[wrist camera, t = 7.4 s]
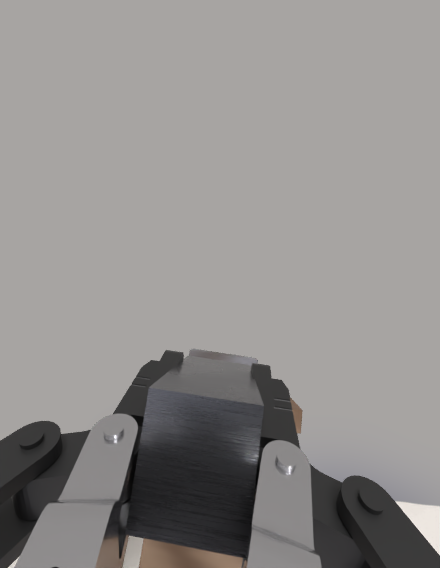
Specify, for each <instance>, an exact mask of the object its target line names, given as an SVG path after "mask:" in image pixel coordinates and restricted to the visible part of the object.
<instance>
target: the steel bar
mask: <svg viewBox="0 0 440 568" xmlns="http://www.w3.org/2000/svg"><path fill="white" fill-rule="evenodd" d="M263 410H264V404H263V401H262V399H261V396H260V393H259V390H258V387H257V384H256V381H255V379H253V377H252V374H251V367H250V365H247V364H240V363H234V362H227V361H220V360H214V359H207V358H200V357H194V356H187V357H186V358H185V359H183V362H181V363H180V364H179V365H178V366H177V367H173V368H172V369H171V370H170V371H169V372H167V373H166V374H165V375H164V376H162V377H161V378H160V379H159V380H157V381H156V382H155V383H154V384H153V385H151V386H150V387H149V390H148V396H147V402H146V408H145V415H144V421H143V427H142V433H141V439H140V445H139V451H138V458H137V464H136V470H135V476H134V482H133V488H132V494H131V501H130V507H129V513H128V519H127V525H126V531H125V535H130V536H135V537H140V538H145V539H150V540H155V541H160V542H165V543H170V544H175V545H180V546H185V547H190V548H195V549H200V550H205V551H210V552H215V553H220V554H225V555H230V556H235V557H240V558H245V557H246V551H247V546H248V540H249V533H250V527H251V518H252V509H253V500H254V491H255V482H256V473H257V464H258V455H259V446H260V437H261V428H262V419H263Z"/></svg>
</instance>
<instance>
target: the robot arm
mask: <svg viewBox="0 0 440 568" xmlns="http://www.w3.org/2000/svg"><path fill="white" fill-rule="evenodd" d="M183 357H184V355H183V352H175V351H169V350H166V351H165V352H164V354H163V356H162V358H161V360H160V361H153V360H151V361H150V362H148V363H147V364H145V365H144V366H143V367H142V368H141V369H140V371H139V373H138V374H137V376H136V378H135V379H134V381H133V382H132V385H131V386H130V387H129V389H128V390H127V392H126V394H125V395H124V397H123V399H122V400H121V402H120V403H119V405H118V407H117V408H116V410H115V411H114V413H113V414H112V415H109V416H106V417H104V418H103V419H101V420H99V421H98V422H97V423H96V424H95V425H94V426H93V427H92V429H91V430H88V431H84V432H76V433H68V434H61V432H60V428H59V426H58V425H57V424H55V423H53V422H50V421H39V422H34V423H31V424H29V425H26V426H24V427H22V428H20V429H19V430H17V431H15V432H14V433H12V434H11V435H9V436H7V437H6V438H4V439H2V440H1V441H0V568H8V567H9V566H10V565H11V564H12V563H13V562H14V561H15V560H16V559H17V558H18V557H19V556H20V557H19V559H18V561H17V563H16V565H15V567H14V568H122V566H123V561H124V556H125V551H126V547H127V542H128V537H129V535H125V531H126V525H127V519H128V513H129V507H130V501H131V494H132V488H133V482H134V476H135V470H136V464H137V458H138V451H139V445H140V439H141V433H142V427H143V421H144V415H145V408H146V402H147V396H148V390H149V387H150V386H151V385H153V384H154V383H155V382H156V381H157V380H159V379H160V378H161V377H162V376H164V375H165V374H166V373H167V372H169V371H170V370H171V369H172V368H173V367H177V366H178V365H179V364H180V363H181V362H183ZM251 374H252V377H253V379H255V381H256V384H257V387H258V390H259V393H260V396H261V399H262V401H263V404H264V410H263V419H262V428H261V437H260V446H259V455H258V464H257V473H256V482H255V491H254V500H253V509H252V518H251V527H250V533H249V540H248V546H247V551H246V557H245V558H243V559H242V565H241V568H440V555H439V554H438V553H437V552H436V551H435V549H434V548H433V547H432V546H431V545H430V543H429V542H428V541H427V540H426V539H425V537H424V536H423V535H422V534H421V533H420V531H419V530H418V529H417V528H416V527H415V525H414V524H413V523H412V522H411V520H410V519H409V518H408V517H407V516H406V514H405V513H404V512H403V511H402V510H401V508H400V507H399V506H398V505H397V504H396V502H395V501H394V500H393V499H392V498H391V496H390V495H389V494H388V493H387V492H386V491H385V490H384V489H383V488H382V487H380V486H379V485H378V484H377V483H375V482H373V481H372V480H369V479H368V478H365V477H361V476H350V477H348V478H346V479H345V480H344V481H343V483H342V482H340V481H337V480H335V479H333V478H331V477H329V476H327V475H325V474H323V473H321V472H319V471H318V470H317V469H315V468H314V467H313V466H312V465H311V464H310V463H309V461H308V459H307V457H306V455H305V454H304V453H303V452H302V451H301V449H300V447H299V441H298V436H297V431H296V426H295V421H294V415H293V411H292V405H291V402H290V395H289V390H288V388H287V387H286V386H285V384H284V383H283V381H282V380H278V379H271V370H270V366H268V365H262V364H256V363H252V366H251Z"/></svg>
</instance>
